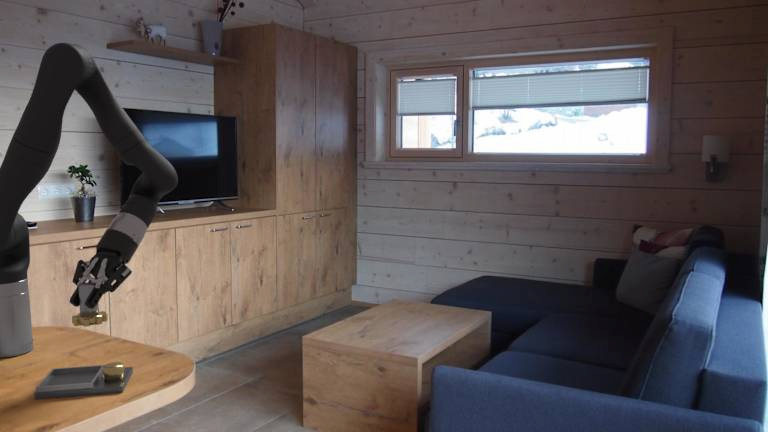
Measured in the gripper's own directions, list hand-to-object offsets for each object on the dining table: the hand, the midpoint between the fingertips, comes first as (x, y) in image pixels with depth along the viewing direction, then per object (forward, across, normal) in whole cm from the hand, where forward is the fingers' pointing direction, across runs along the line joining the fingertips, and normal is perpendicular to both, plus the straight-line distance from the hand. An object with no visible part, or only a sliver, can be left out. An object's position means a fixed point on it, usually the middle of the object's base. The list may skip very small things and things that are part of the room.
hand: (81, 305), depth 134 cm
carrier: (+13, +3, +10) cm, 16 cm away
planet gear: (+1, 0, +4) cm, 5 cm away
